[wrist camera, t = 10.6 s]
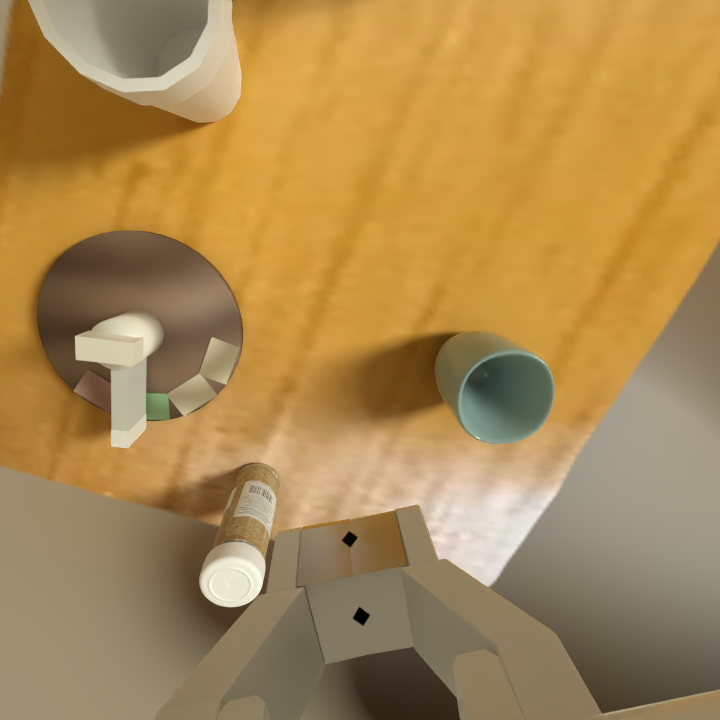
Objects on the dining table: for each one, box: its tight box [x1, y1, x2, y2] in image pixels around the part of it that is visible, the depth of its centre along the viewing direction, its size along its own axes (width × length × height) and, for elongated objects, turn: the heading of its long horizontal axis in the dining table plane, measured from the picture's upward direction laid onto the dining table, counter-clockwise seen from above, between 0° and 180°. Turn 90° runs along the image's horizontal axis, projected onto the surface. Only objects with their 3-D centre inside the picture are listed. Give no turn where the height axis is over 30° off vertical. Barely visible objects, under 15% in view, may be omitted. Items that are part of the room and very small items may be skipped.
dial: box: [37, 231, 243, 421], centre depth 37 cm, size 17×17×1 cm
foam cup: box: [28, 0, 242, 123], centre depth 27 cm, size 10×9×13 cm
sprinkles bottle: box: [199, 463, 280, 607], centre depth 37 cm, size 5×5×13 cm
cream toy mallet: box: [75, 310, 164, 448], centre depth 35 cm, size 11×4×6 cm, turn 171°
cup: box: [435, 331, 555, 444], centre depth 36 cm, size 8×8×10 cm
